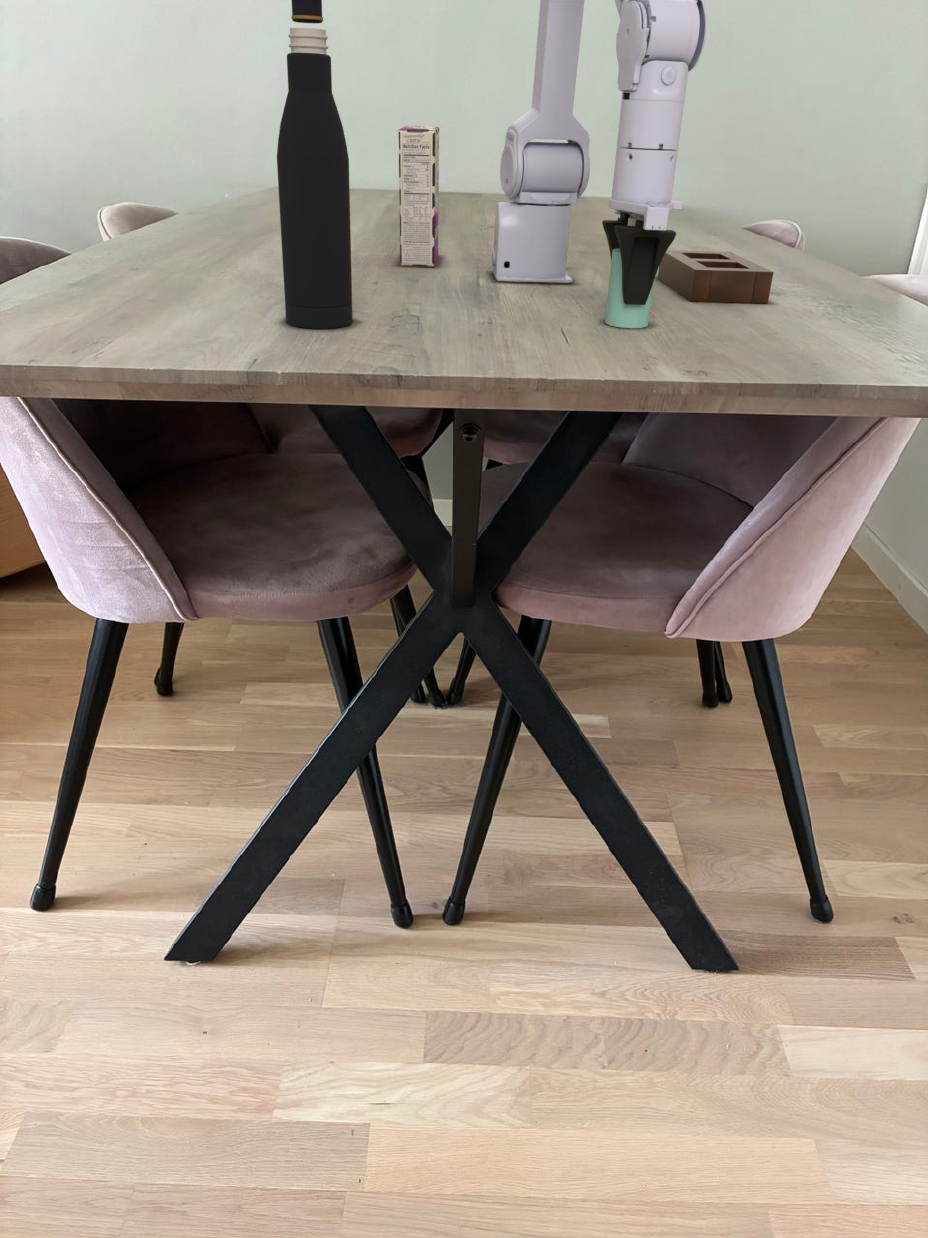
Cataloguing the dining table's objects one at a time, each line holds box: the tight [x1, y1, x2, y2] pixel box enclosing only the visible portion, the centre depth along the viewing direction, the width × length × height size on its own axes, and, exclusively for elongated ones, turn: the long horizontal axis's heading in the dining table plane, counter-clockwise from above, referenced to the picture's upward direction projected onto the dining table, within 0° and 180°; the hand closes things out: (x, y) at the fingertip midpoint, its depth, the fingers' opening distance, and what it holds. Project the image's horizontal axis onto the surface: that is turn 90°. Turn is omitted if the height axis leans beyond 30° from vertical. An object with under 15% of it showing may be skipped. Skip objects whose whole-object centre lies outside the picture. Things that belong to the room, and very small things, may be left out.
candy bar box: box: [397, 125, 440, 268], centre depth 123 cm, size 11×5×16 cm, turn 179°
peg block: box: [657, 249, 774, 304], centre depth 114 cm, size 9×16×4 cm, turn 3°
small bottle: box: [604, 217, 655, 329], centre depth 92 cm, size 4×4×10 cm
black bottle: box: [276, 0, 353, 330], centre depth 82 cm, size 6×6×30 cm
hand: (629, 299), depth 93 cm, fingers closed on small bottle, 4 cm apart
